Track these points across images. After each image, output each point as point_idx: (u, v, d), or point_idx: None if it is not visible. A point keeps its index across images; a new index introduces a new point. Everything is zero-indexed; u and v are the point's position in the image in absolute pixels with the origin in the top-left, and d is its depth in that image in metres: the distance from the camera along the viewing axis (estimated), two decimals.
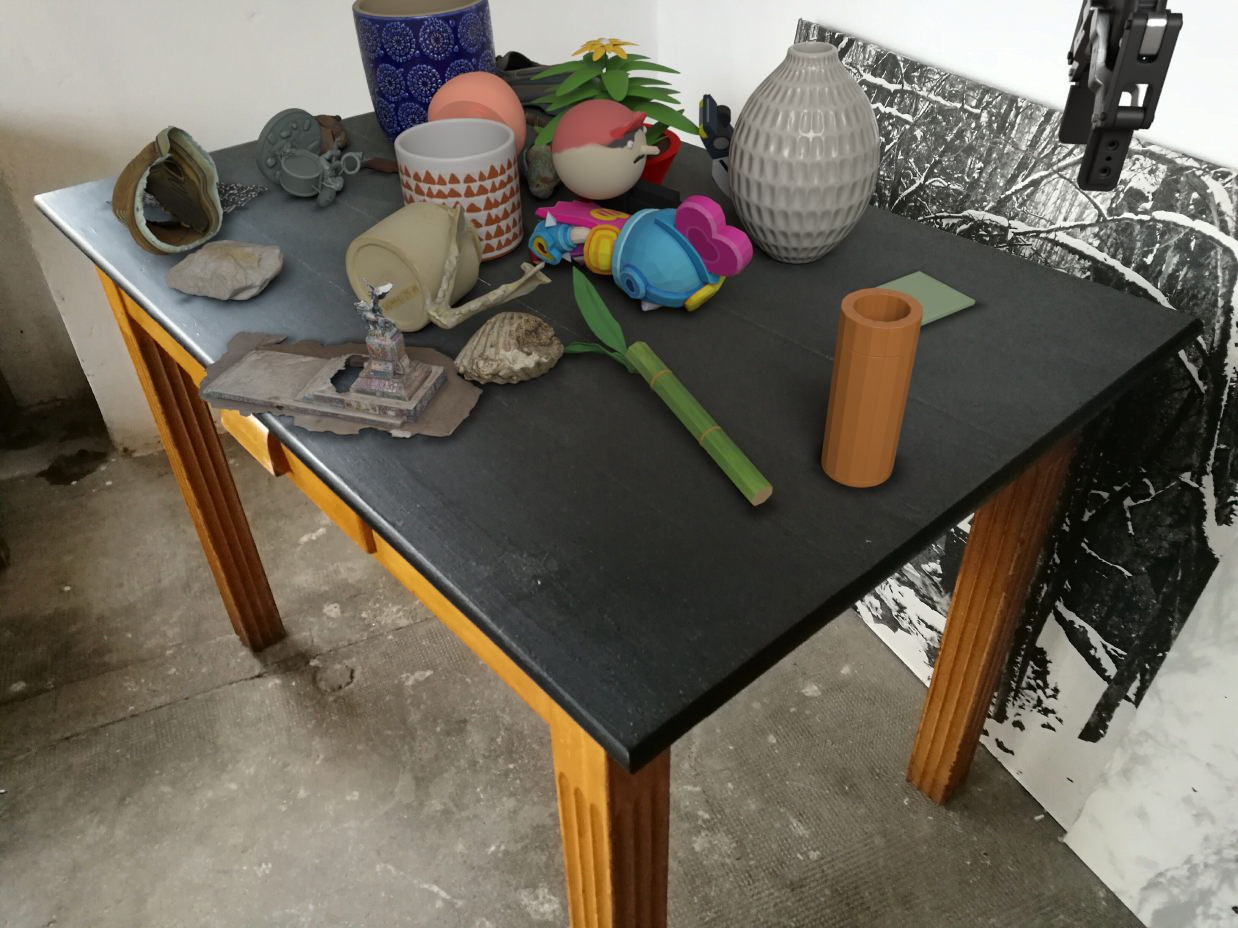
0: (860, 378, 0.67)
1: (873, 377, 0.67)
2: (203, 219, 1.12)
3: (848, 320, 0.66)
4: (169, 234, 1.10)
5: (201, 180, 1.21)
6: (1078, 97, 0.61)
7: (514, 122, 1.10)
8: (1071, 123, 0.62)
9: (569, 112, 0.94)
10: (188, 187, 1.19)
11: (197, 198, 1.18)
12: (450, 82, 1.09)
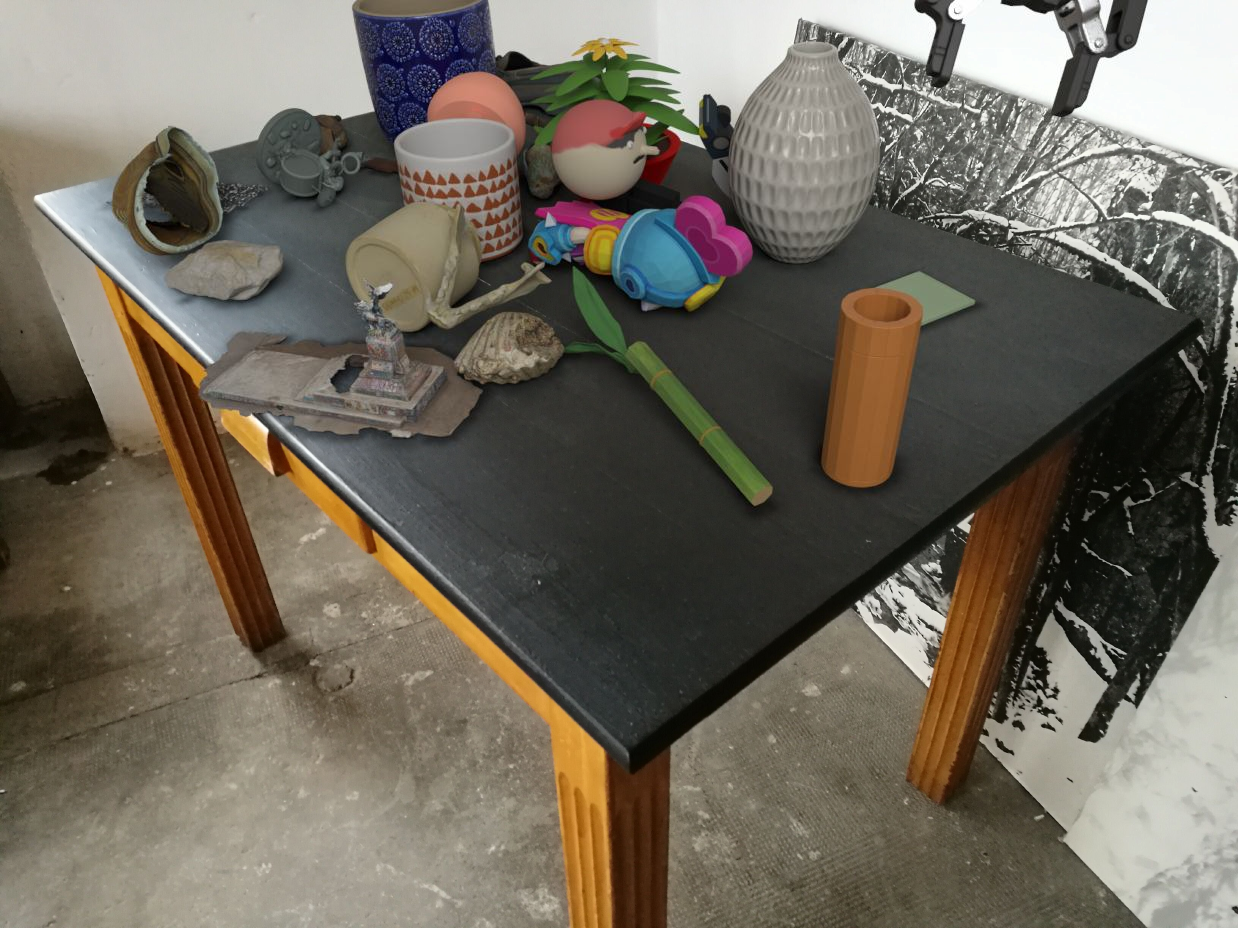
0: (860, 378, 0.67)
1: (873, 377, 0.67)
2: (203, 219, 1.12)
3: (848, 320, 0.66)
4: (169, 234, 1.10)
5: (201, 180, 1.21)
6: (1067, 68, 0.61)
7: (513, 121, 1.10)
8: (1059, 94, 0.62)
9: (569, 112, 0.94)
10: (188, 187, 1.19)
11: (197, 198, 1.18)
12: (449, 82, 1.09)
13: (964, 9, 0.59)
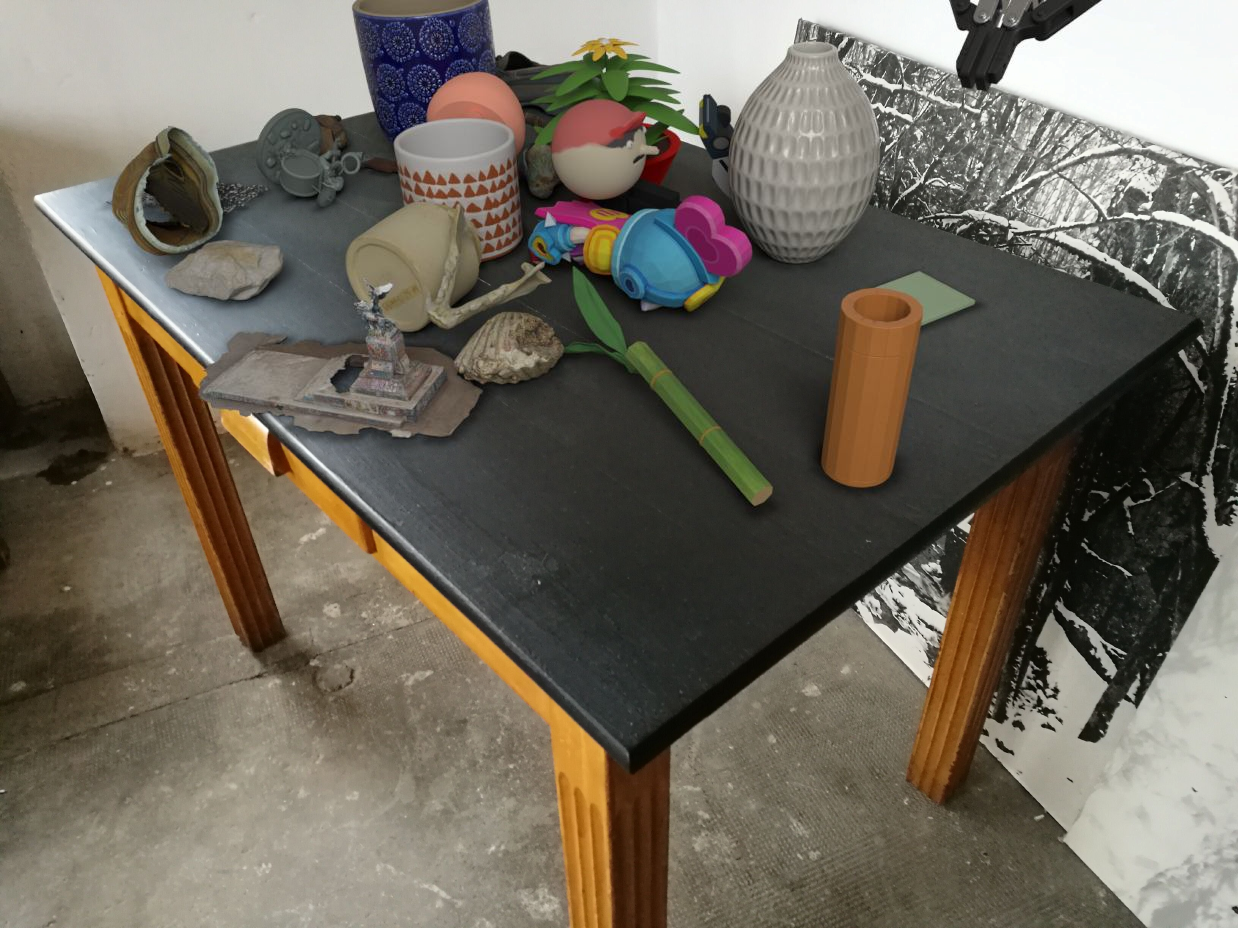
0: (860, 378, 0.67)
1: (873, 377, 0.67)
2: (203, 219, 1.12)
3: (848, 320, 0.66)
4: (169, 234, 1.10)
5: (201, 180, 1.21)
6: None
7: (513, 121, 1.10)
8: None
9: (569, 112, 0.94)
10: (188, 187, 1.19)
11: (197, 198, 1.18)
12: (448, 83, 1.10)
13: (987, 10, 0.64)
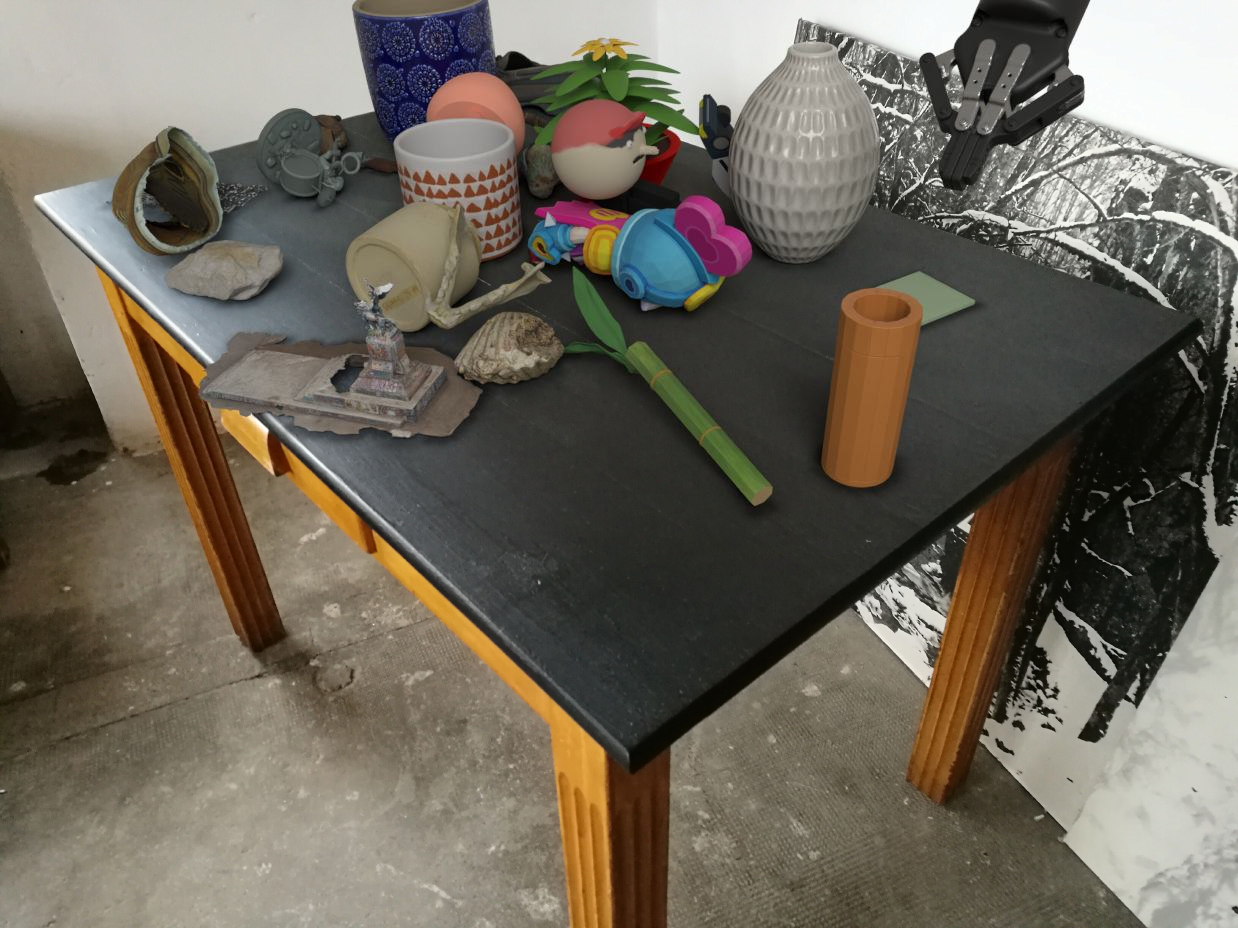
0: (860, 378, 0.67)
1: (873, 377, 0.67)
2: (203, 219, 1.12)
3: (848, 320, 0.66)
4: (169, 234, 1.10)
5: (201, 180, 1.21)
6: None
7: (512, 121, 1.10)
8: None
9: (568, 112, 0.94)
10: (188, 187, 1.19)
11: (197, 198, 1.18)
12: (447, 83, 1.10)
13: (967, 118, 0.69)
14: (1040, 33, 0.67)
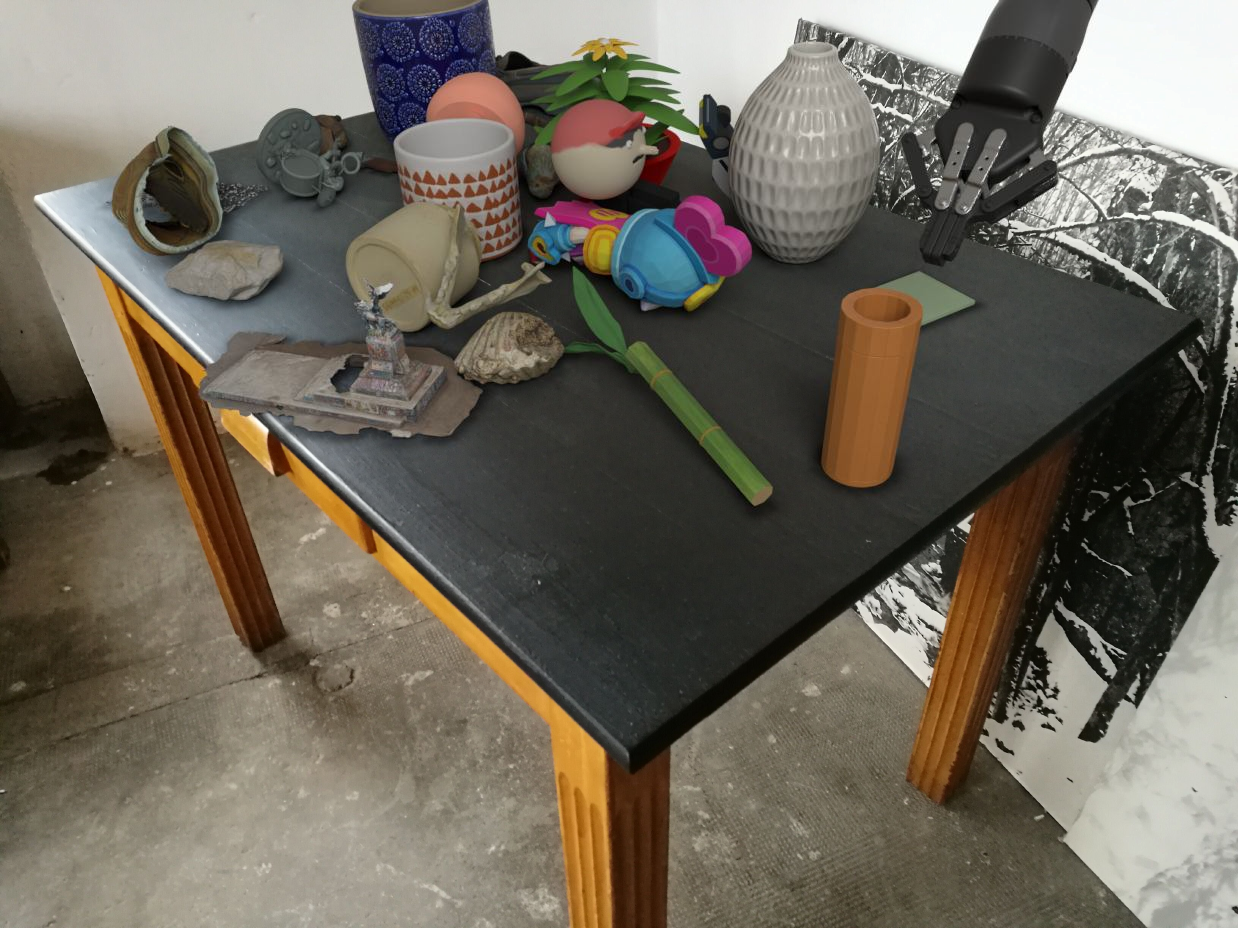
0: (860, 378, 0.67)
1: (873, 377, 0.67)
2: (203, 219, 1.12)
3: (848, 320, 0.66)
4: (169, 234, 1.10)
5: (201, 180, 1.21)
6: None
7: (512, 121, 1.10)
8: None
9: (568, 112, 0.94)
10: (188, 187, 1.19)
11: (197, 198, 1.18)
12: (447, 83, 1.10)
13: (947, 198, 0.72)
14: (1016, 118, 0.70)
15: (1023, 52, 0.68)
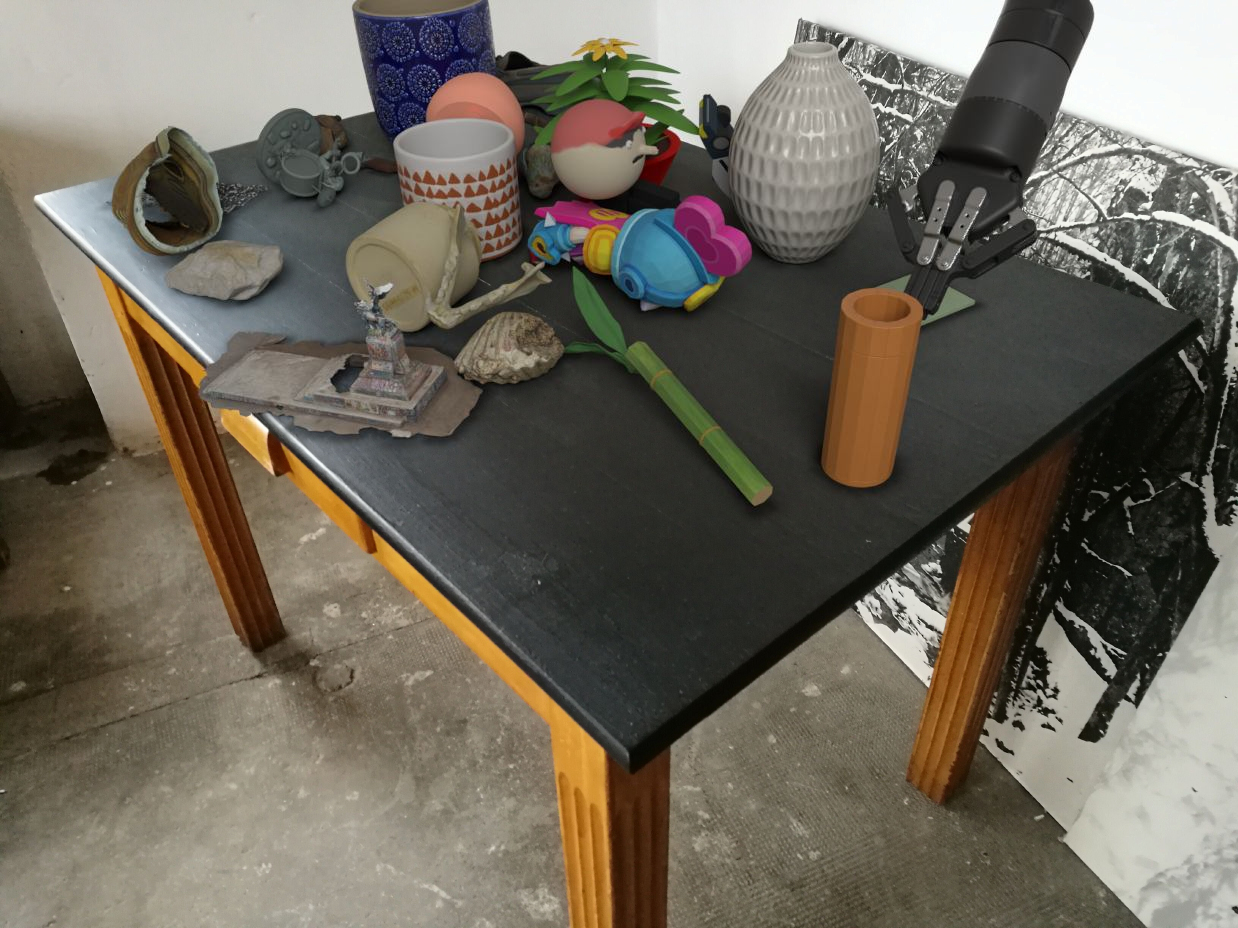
0: (860, 378, 0.67)
1: (873, 377, 0.67)
2: (203, 219, 1.12)
3: (848, 320, 0.66)
4: (169, 234, 1.10)
5: (201, 180, 1.21)
6: None
7: (512, 121, 1.10)
8: None
9: (568, 112, 0.94)
10: (188, 187, 1.19)
11: (197, 198, 1.18)
12: (446, 84, 1.10)
13: (928, 254, 0.73)
14: (996, 176, 0.72)
15: (1002, 114, 0.70)
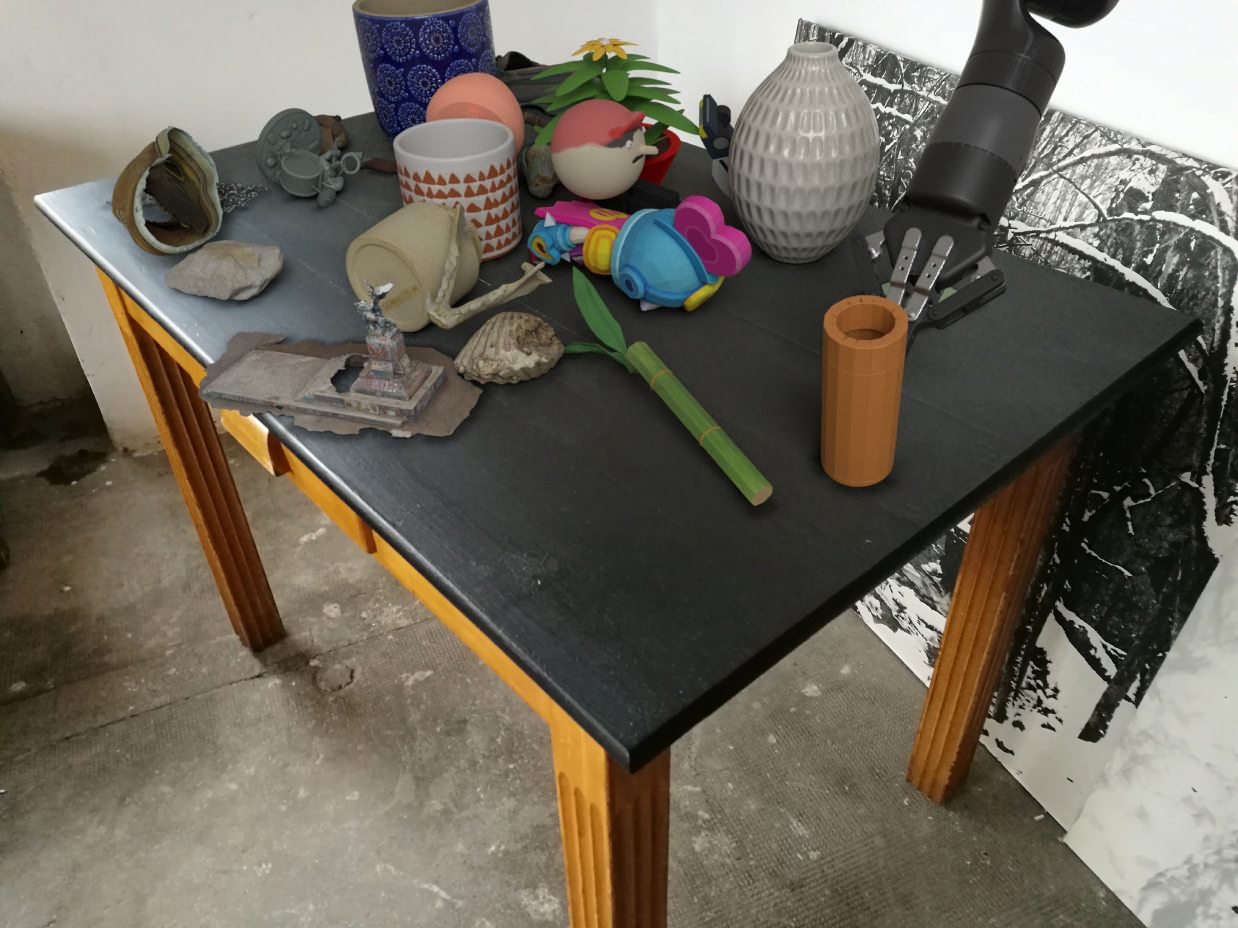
0: (848, 393, 0.66)
1: (861, 392, 0.66)
2: (203, 219, 1.12)
3: (830, 340, 0.64)
4: (169, 234, 1.10)
5: (201, 180, 1.21)
6: None
7: (511, 121, 1.10)
8: None
9: (568, 112, 0.94)
10: (188, 187, 1.19)
11: (197, 198, 1.18)
12: (446, 84, 1.10)
13: None
14: (963, 224, 0.69)
15: (969, 160, 0.67)
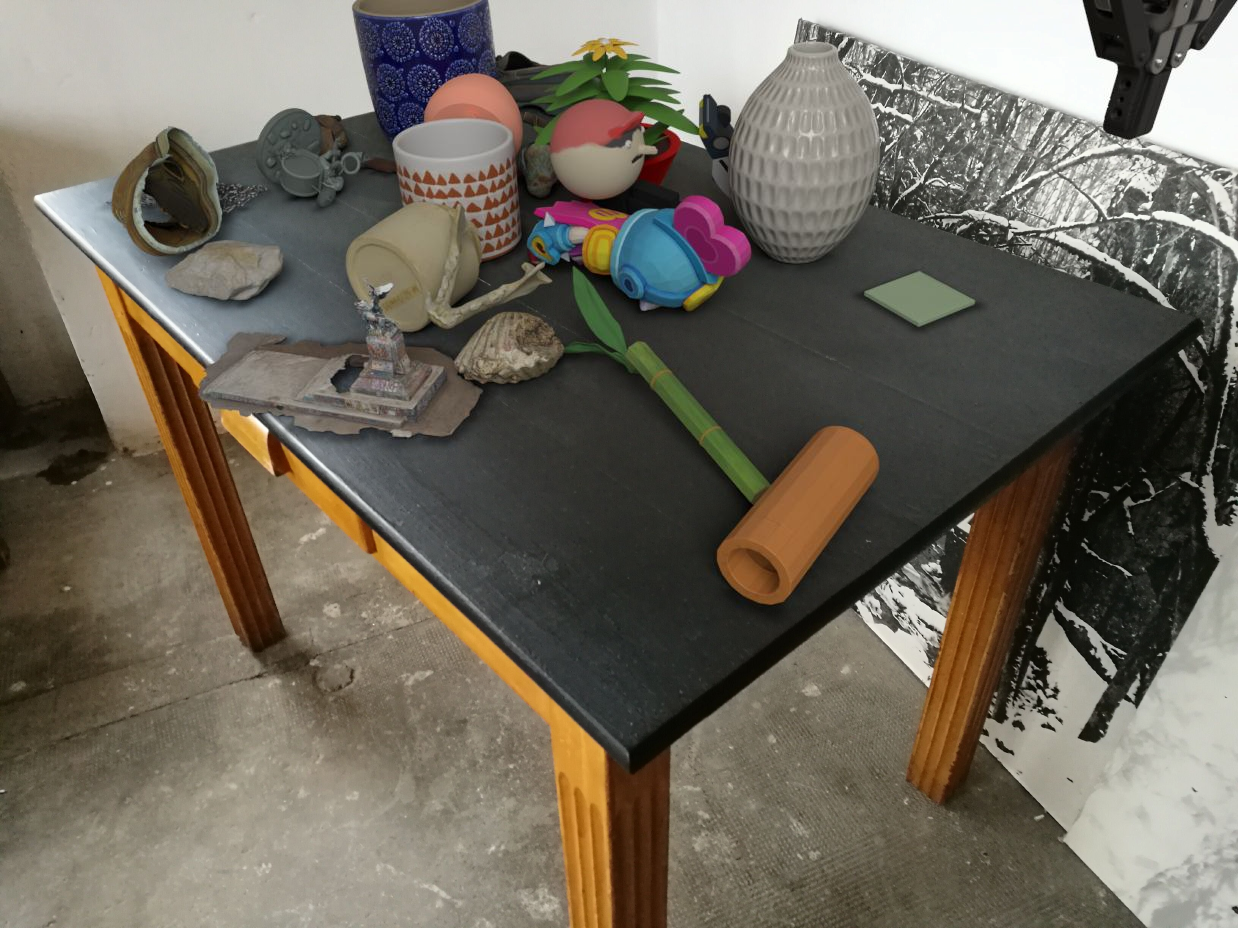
0: None
1: None
2: (203, 220, 1.12)
3: None
4: (168, 235, 1.10)
5: (201, 181, 1.21)
6: None
7: (509, 119, 1.10)
8: None
9: (567, 112, 0.94)
10: (188, 188, 1.19)
11: (197, 199, 1.18)
12: (442, 87, 1.10)
13: (1165, 55, 0.49)
14: None
15: None
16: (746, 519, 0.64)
